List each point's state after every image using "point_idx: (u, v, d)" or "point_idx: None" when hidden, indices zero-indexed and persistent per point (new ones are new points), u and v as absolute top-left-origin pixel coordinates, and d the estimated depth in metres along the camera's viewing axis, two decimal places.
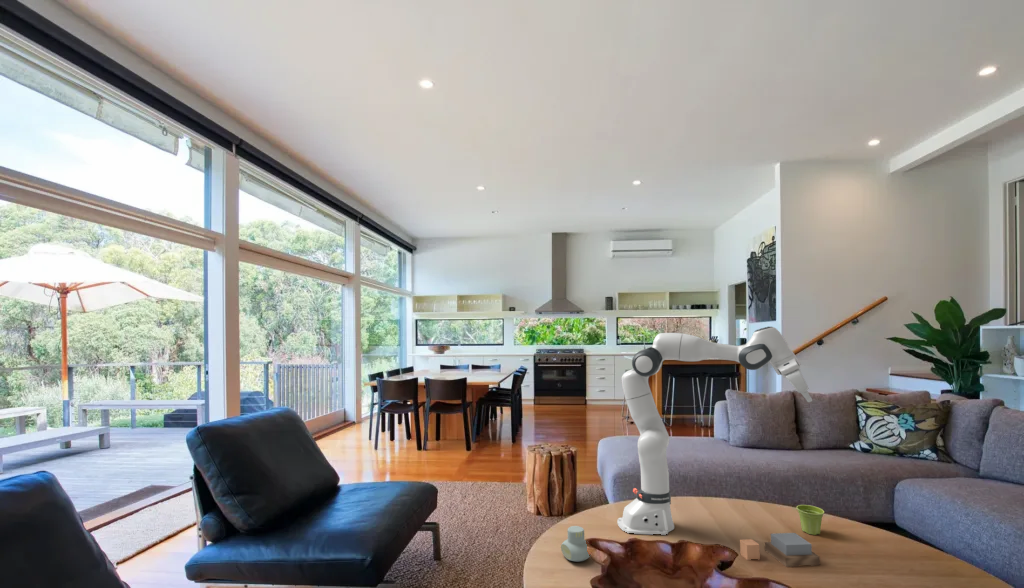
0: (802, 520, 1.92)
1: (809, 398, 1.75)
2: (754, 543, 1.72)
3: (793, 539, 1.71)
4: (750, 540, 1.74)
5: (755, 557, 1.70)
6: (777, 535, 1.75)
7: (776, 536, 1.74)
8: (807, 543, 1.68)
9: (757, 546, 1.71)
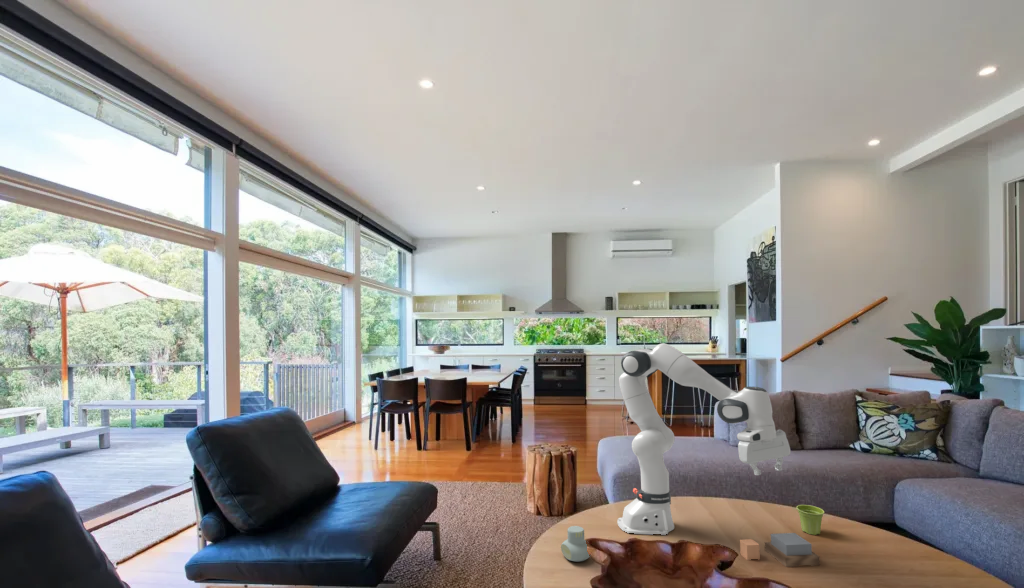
0: (802, 520, 1.92)
1: (756, 472, 1.71)
2: (754, 543, 1.72)
3: (793, 539, 1.71)
4: (750, 540, 1.74)
5: (755, 557, 1.70)
6: (777, 535, 1.75)
7: (776, 536, 1.74)
8: (807, 543, 1.68)
9: (757, 546, 1.71)
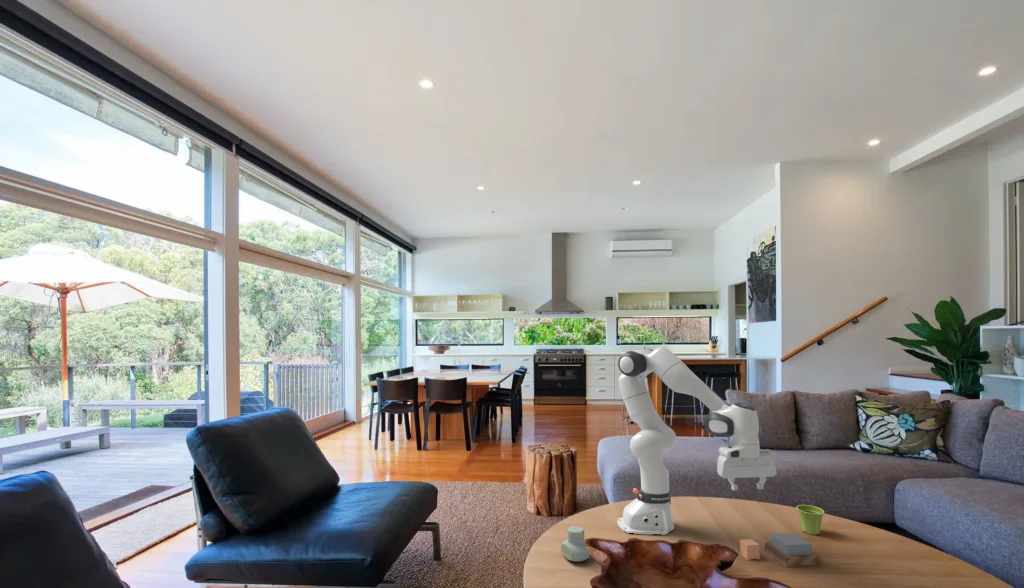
0: (802, 520, 1.92)
1: (733, 487, 1.73)
2: (754, 543, 1.72)
3: (794, 539, 1.71)
4: (750, 540, 1.74)
5: (755, 557, 1.70)
6: (777, 535, 1.74)
7: (776, 536, 1.74)
8: (807, 543, 1.68)
9: (757, 546, 1.71)
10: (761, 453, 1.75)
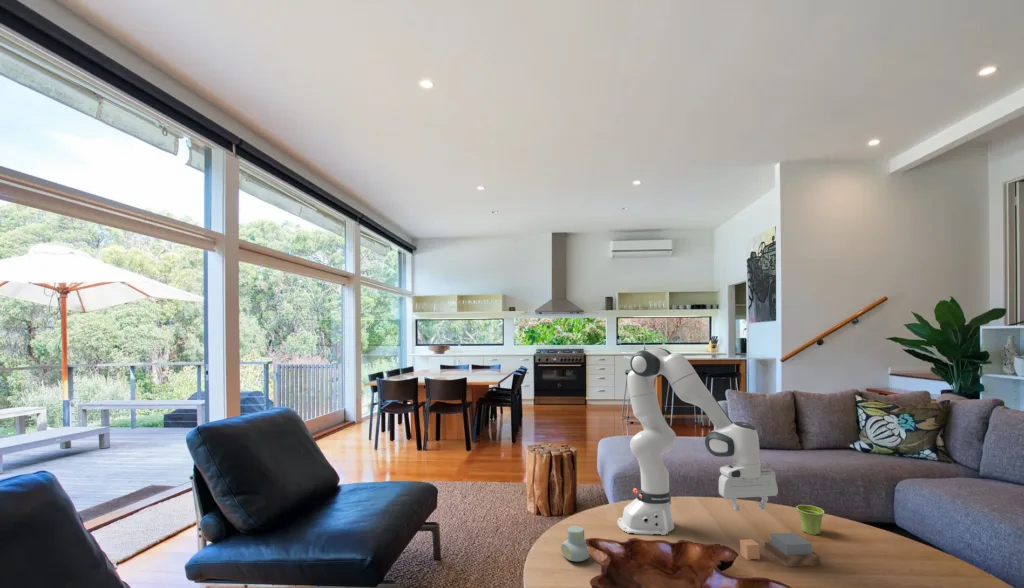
0: (802, 520, 1.92)
1: (734, 507, 1.73)
2: (754, 543, 1.72)
3: (793, 539, 1.71)
4: (750, 540, 1.74)
5: (755, 557, 1.70)
6: (777, 535, 1.74)
7: (776, 536, 1.74)
8: (807, 543, 1.68)
9: (757, 546, 1.71)
10: (762, 472, 1.74)
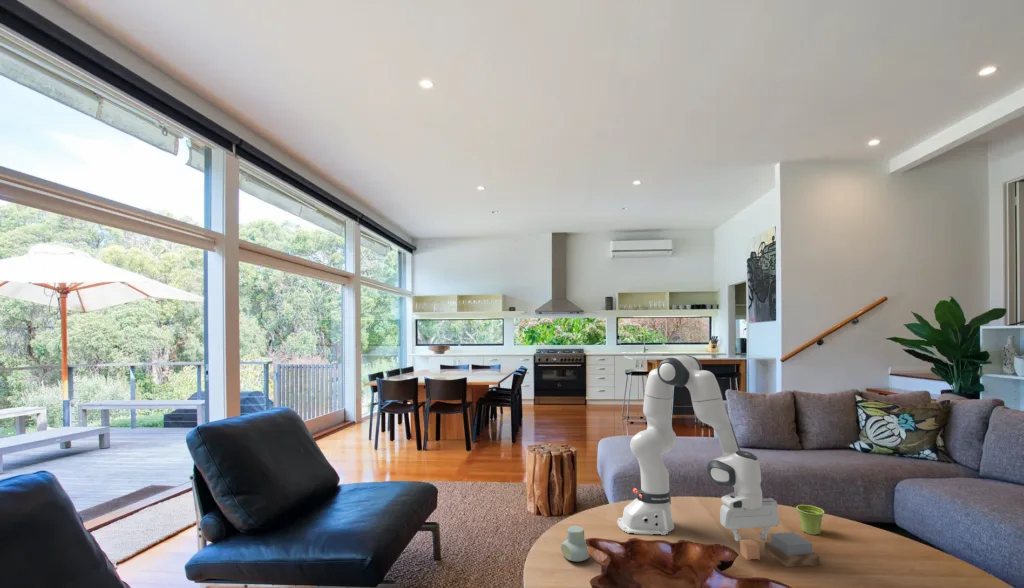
0: (802, 520, 1.92)
1: (736, 537, 1.72)
2: (754, 543, 1.72)
3: (793, 539, 1.71)
4: (750, 540, 1.74)
5: (755, 557, 1.70)
6: (777, 535, 1.74)
7: (776, 536, 1.74)
8: (807, 542, 1.69)
9: (757, 546, 1.71)
10: (764, 502, 1.73)
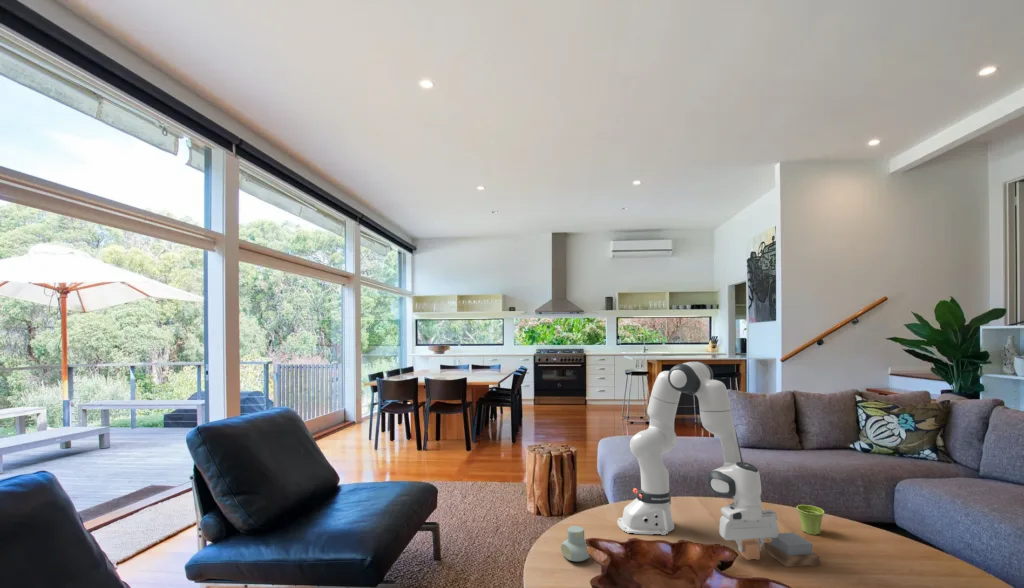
0: (802, 520, 1.92)
1: (740, 548, 1.72)
2: (754, 543, 1.72)
3: (794, 539, 1.72)
4: (750, 540, 1.74)
5: (755, 557, 1.70)
6: None
7: None
8: (808, 542, 1.69)
9: (757, 546, 1.71)
10: (763, 514, 1.73)
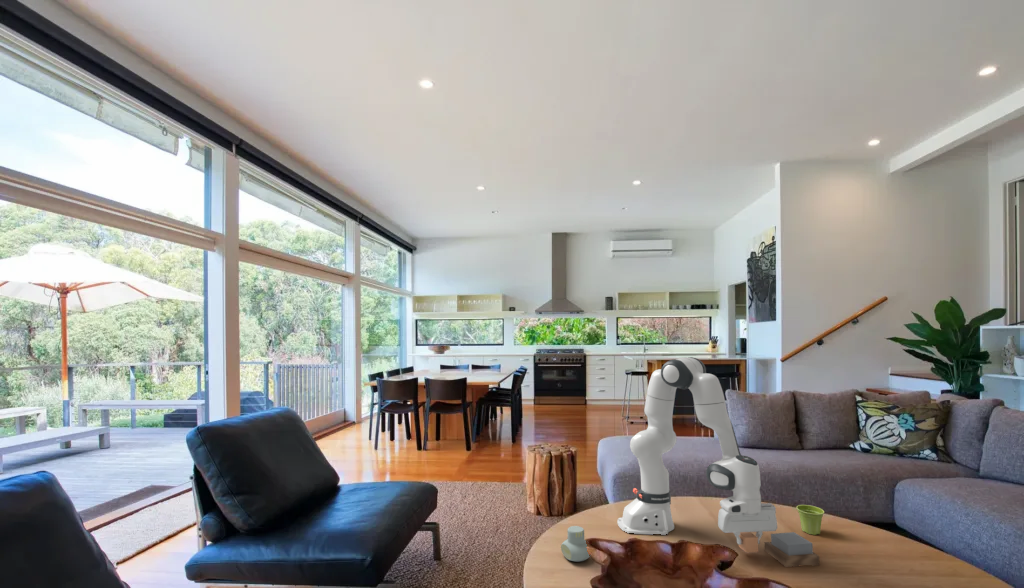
0: (802, 520, 1.92)
1: (738, 541, 1.73)
2: (752, 536, 1.72)
3: (794, 539, 1.71)
4: (749, 533, 1.74)
5: (753, 550, 1.71)
6: (777, 535, 1.74)
7: (777, 536, 1.74)
8: (808, 542, 1.69)
9: (755, 539, 1.71)
10: (762, 507, 1.74)
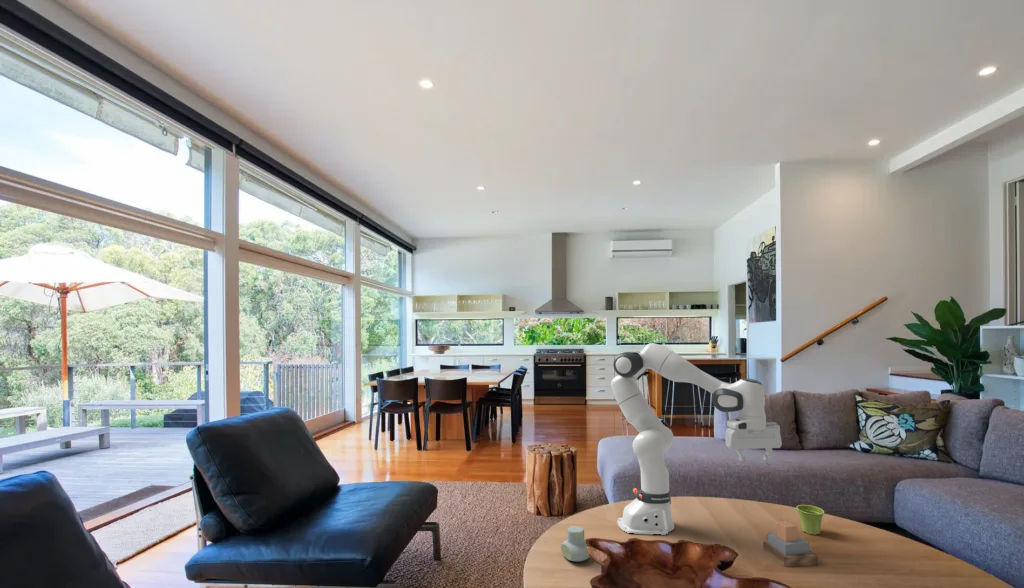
0: (802, 520, 1.92)
1: (740, 457, 1.81)
2: (791, 525, 1.71)
3: None
4: (786, 522, 1.74)
5: (793, 538, 1.70)
6: (774, 535, 1.75)
7: (773, 536, 1.74)
8: (804, 542, 1.69)
9: (795, 527, 1.70)
10: (767, 426, 1.83)
